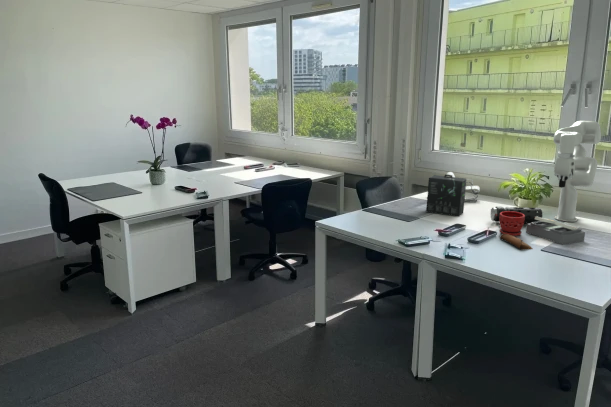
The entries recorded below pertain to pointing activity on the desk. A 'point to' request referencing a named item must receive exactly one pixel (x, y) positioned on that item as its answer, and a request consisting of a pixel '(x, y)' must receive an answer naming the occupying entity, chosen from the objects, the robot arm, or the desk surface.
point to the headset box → (446, 195)
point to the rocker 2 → (565, 226)
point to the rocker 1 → (545, 220)
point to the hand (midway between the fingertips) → (561, 187)
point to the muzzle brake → (528, 212)
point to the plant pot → (511, 222)
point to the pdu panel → (555, 232)
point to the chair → (469, 186)
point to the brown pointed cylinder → (515, 241)
